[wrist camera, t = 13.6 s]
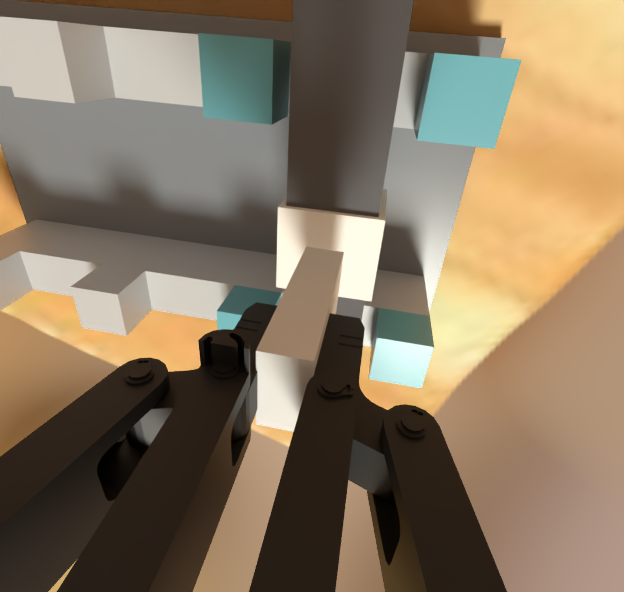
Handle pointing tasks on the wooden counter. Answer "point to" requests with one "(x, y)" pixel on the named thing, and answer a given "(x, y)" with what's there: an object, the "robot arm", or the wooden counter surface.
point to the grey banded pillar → (341, 136)
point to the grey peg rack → (215, 166)
